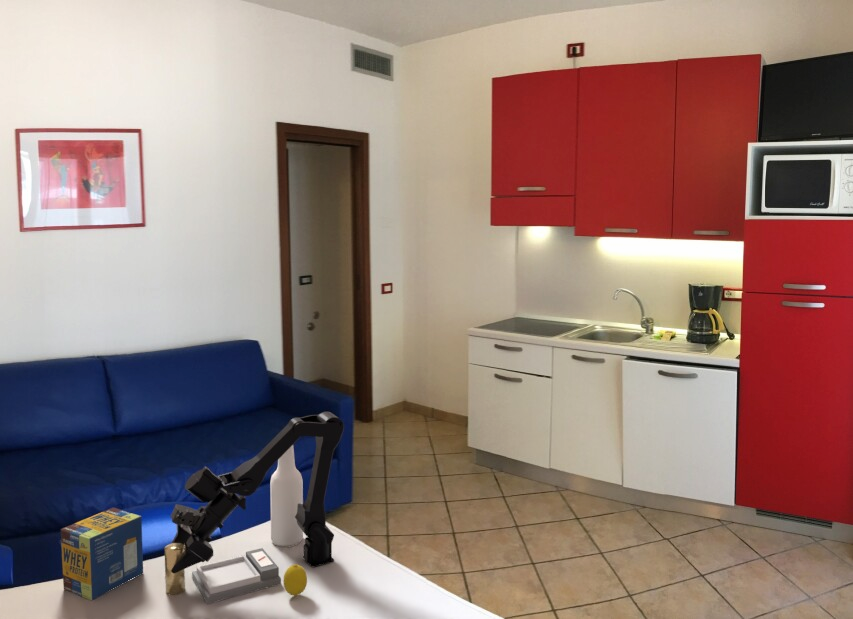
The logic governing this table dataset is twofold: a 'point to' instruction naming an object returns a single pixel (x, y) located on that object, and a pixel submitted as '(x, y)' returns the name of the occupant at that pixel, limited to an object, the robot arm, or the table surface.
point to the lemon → (295, 580)
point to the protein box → (101, 552)
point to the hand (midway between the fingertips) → (169, 563)
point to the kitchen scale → (236, 576)
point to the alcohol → (286, 501)
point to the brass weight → (172, 554)
